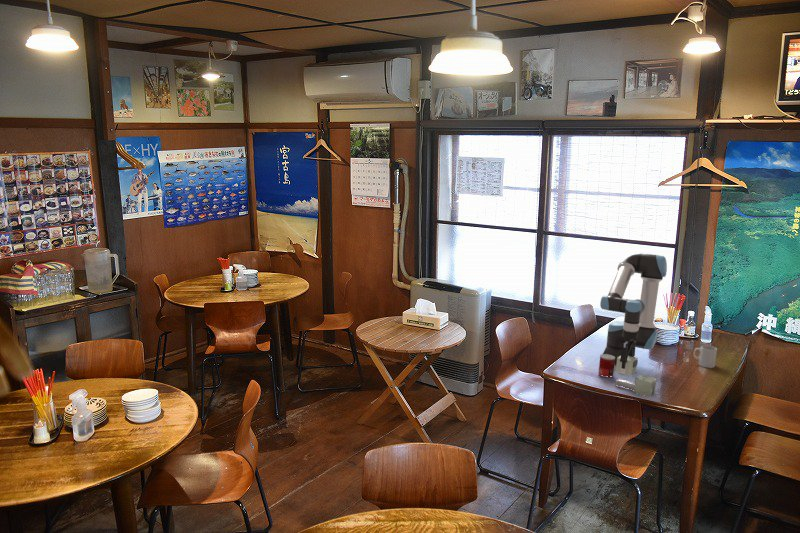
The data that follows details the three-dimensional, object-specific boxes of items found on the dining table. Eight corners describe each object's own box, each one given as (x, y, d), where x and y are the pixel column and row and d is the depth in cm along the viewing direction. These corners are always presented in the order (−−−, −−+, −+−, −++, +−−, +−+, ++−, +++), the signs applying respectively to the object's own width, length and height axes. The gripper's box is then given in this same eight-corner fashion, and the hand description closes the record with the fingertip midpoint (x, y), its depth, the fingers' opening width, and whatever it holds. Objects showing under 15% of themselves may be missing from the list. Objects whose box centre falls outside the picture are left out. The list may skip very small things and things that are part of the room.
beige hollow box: (615, 372, 326) (617, 357, 324) (620, 368, 331) (622, 354, 330) (631, 376, 320) (633, 361, 319) (637, 372, 326) (638, 358, 324)
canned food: (611, 379, 339) (613, 360, 337) (596, 375, 343) (598, 356, 341) (614, 374, 345) (616, 355, 343) (600, 371, 350) (602, 352, 347)
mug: (715, 364, 365) (718, 347, 363) (713, 369, 358) (715, 351, 356) (693, 360, 372) (696, 342, 369) (690, 364, 365) (693, 346, 363)
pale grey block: (614, 387, 328) (615, 373, 326) (619, 383, 333) (620, 369, 332) (649, 397, 316) (651, 382, 315) (654, 393, 322) (656, 378, 320)
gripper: (631, 336, 311) (625, 379, 316) (644, 327, 327) (639, 368, 331) (616, 332, 316) (611, 375, 321) (630, 324, 331) (625, 365, 336)
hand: (625, 371), depth 326 cm, fingers closed on beige hollow box, 7 cm apart
